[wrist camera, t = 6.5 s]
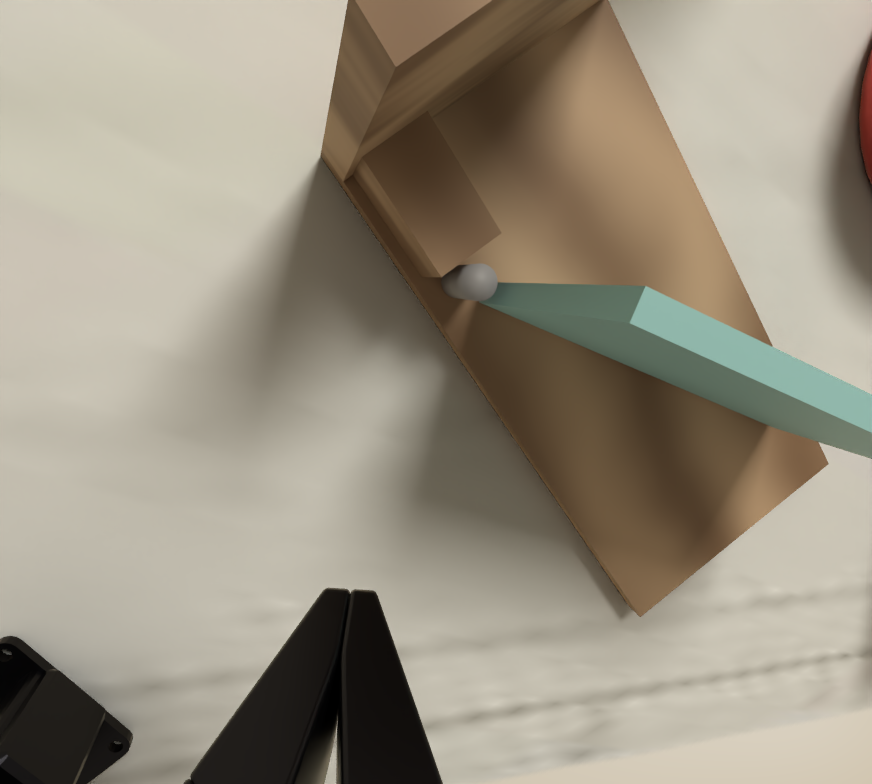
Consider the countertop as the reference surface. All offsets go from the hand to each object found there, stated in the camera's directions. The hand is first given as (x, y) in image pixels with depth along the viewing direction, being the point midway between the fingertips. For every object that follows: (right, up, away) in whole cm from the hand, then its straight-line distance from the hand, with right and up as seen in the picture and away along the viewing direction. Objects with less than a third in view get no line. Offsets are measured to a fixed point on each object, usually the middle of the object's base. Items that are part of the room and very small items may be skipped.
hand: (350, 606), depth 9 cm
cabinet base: (+9, +6, +14) cm, 18 cm away
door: (+9, +5, +14) cm, 17 cm away
